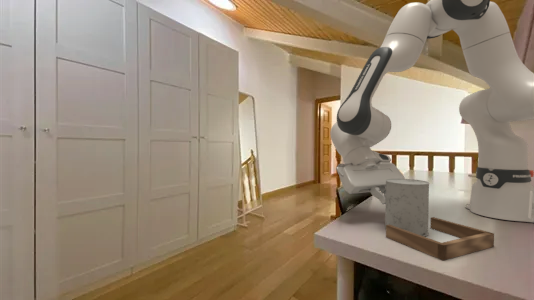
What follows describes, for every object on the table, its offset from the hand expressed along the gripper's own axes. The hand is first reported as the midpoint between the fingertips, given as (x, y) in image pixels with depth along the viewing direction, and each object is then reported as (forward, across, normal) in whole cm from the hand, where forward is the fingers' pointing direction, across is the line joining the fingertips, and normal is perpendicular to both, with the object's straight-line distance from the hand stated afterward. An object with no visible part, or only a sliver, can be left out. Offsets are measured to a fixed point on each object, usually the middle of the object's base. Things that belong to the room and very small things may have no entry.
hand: (388, 202), depth 69 cm
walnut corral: (+13, 0, -5) cm, 14 cm away
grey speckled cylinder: (+8, 0, 0) cm, 8 cm away
